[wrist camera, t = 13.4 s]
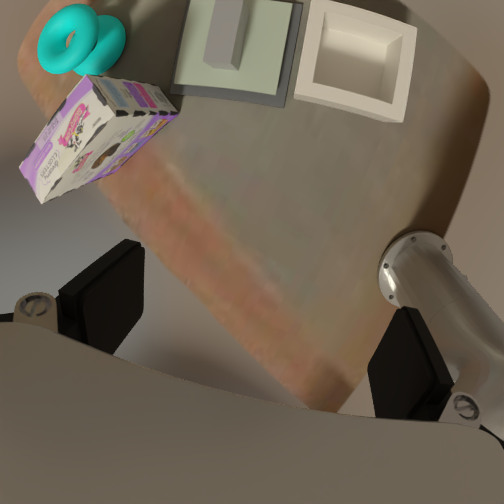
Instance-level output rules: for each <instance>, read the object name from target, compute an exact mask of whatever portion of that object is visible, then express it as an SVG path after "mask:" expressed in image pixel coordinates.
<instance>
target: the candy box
mask: <svg viewBox="0 0 504 504" xmlns="http://www.w3.org/2000/svg"><path fill="white" fill-rule="evenodd" d="M178 114H179V112H178V111H177V110H176V109H175V107H174V106H173V105H172V103H171V102H170V101H169V99H168V98H167V97H166V95H165V94H164V92H163V91H162V90H161V89H160V88H159V87H158V86H157V85H153V84H148V83H143V82H137V81H132V80H126V79H120V78H113V77H106V76H99V75H90V74H85V76H84V77H83V78H82V79H81V80H80V81H79V83H78V84H77V85H76V86H75V87H74V89H73V90H72V91H71V92H70V94H69V95H68V96H67V98H66V99H65V100H64V101H63V103H62V104H61V105H60V107H59V108H58V109H57V111H56V112H55V113H54V115H53V116H52V118H51V119H50V120H49V122H48V123H47V124H46V126H45V127H44V129H43V130H42V132H41V134H40V135H39V136H38V138H37V139H36V141H35V142H34V144H33V145H32V147H31V148H30V150H29V152H28V153H27V155H26V157H25V158H24V160H23V161H22V163H21V165H20V166H19V169H20V170H21V172H22V174H23V175H24V177H25V179H26V180H27V182H28V184H29V185H30V187H31V189H32V190H33V192H34V193H35V195H36V196H37V198H38V199H39V201H40V203H41V204H44V203H46V202H48V201H50V200H52V199H55V198H57V197H59V196H61V195H63V194H65V193H67V192H69V191H72V190H74V189H76V188H79V187H81V186H83V185H85V184H88V183H90V182H93V181H95V180H98V179H100V178H103V177H105V176H108V175H110V174H112V173H115V172H116V171H117V170H118V169H119V168H120V167H121V166H122V165H123V164H124V163H125V162H126V161H127V160H128V159H129V158H130V157H131V156H132V155H133V154H134V153H135V152H137V151H138V150H139V149H140V148H141V147H142V146H143V145H144V144H145V143H146V142H147V141H148V140H149V139H151V138H152V137H153V136H154V135H155V134H156V133H157V132H158V131H159V130H161V129H162V128H163V127H164V126H165V125H166V124H168V123H169V122H170V121H171V120H172V119H174V118H175V117H176V116H177V115H178Z"/></svg>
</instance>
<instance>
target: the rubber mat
mask: <svg viewBox="0 0 504 504" xmlns="http://www.w3.org/2000/svg"><path fill="white" fill-rule="evenodd" d="M190 1H191V0H188V3H187V7H186V11H185V15H184V20H183V24H182V29H181V33H180V38H179V43H178V48H177V53H176V58H175V63H174V69H173V74H172V80H171V86H170V92H169V94H177V95H190V96H201V97H211V98H220V99H228V100H236V101H243V102H250V103H256V104H263V105H268V106H274V107H280V108H284V103H285V98H286V93H287V87H288V82H289V77H290V71H291V66H292V61H293V55H294V50H295V44H296V39H297V34H298V28H299V23H300V17H301V12H302V6H303V4H298V3H293V6H292V12H291V17H290V22H289V28H288V33H287V39H286V44H285V49H284V55H283V60H282V66H281V71H280V77H279V82H278V88H277V93H276V95H270V94H264V93H257V92H251V91H243V90H236V89H228V88H218V87H208V86H196V85H182V84H174V79H175V73H176V68H177V62H178V57H179V51H180V46H181V41H182V37H183V32H184V27H185V23H186V18H187V14H188V10H189V5H190ZM272 1H278V0H272ZM279 2H285V1H279ZM286 3H292V2H286Z"/></svg>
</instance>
